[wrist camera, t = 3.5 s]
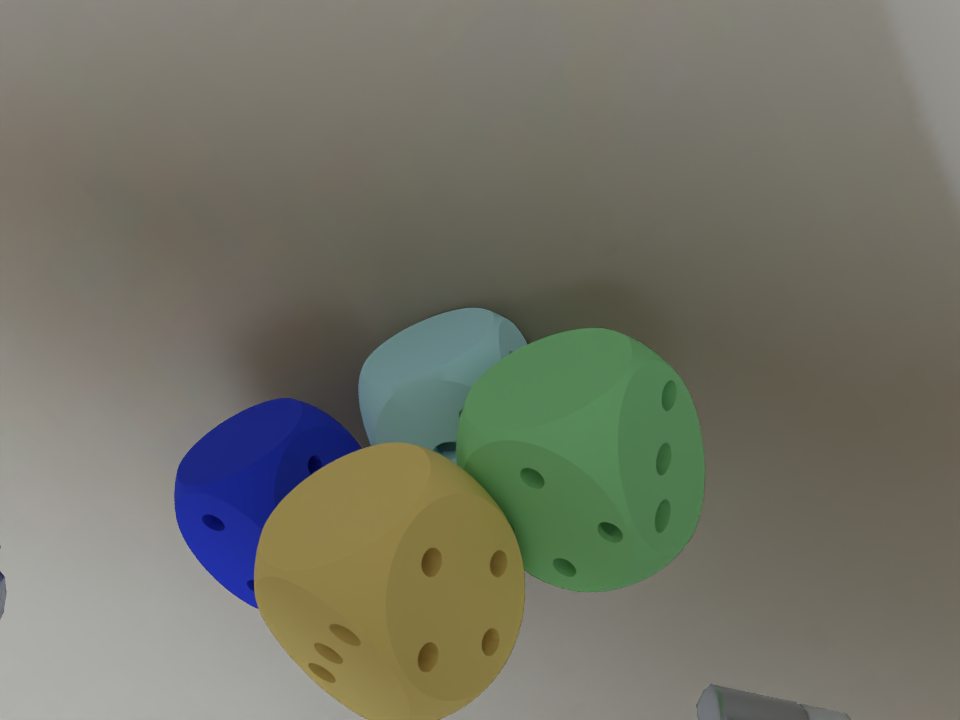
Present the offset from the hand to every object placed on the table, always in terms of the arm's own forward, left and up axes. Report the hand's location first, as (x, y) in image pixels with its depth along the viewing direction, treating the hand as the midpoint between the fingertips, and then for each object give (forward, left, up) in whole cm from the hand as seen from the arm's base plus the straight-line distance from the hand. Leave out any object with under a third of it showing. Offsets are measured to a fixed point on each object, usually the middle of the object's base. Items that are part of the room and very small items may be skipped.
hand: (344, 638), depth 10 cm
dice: (0, 0, -6) cm, 6 cm away
